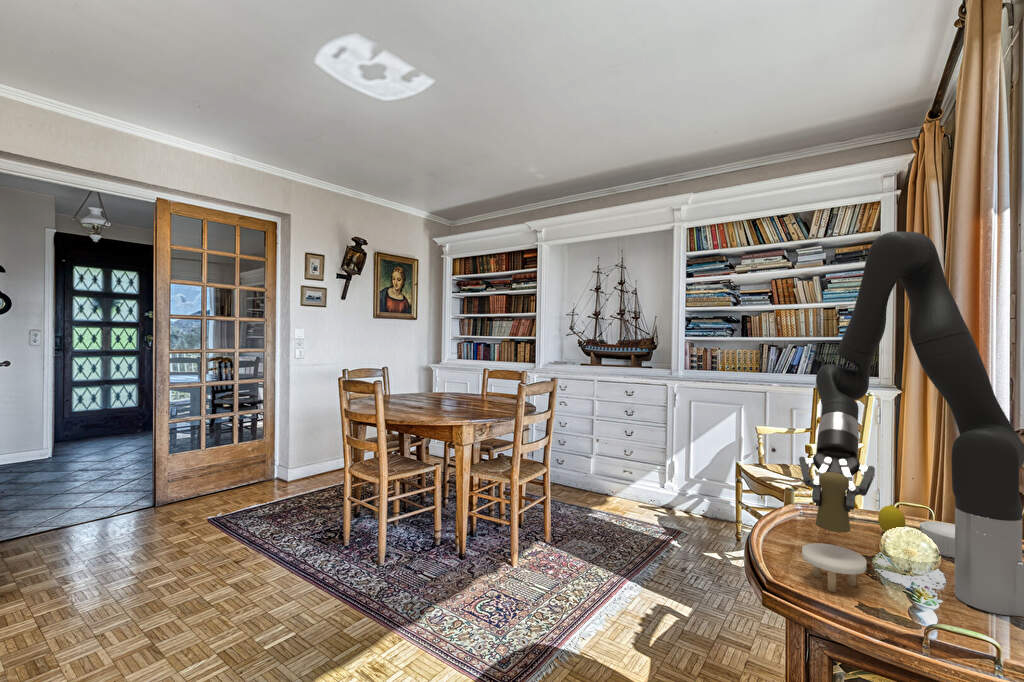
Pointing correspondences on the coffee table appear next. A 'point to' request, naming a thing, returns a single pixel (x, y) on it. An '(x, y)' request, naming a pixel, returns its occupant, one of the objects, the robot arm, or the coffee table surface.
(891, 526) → the lemon
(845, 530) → the cork
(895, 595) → the coffee table surface
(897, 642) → the coffee table surface
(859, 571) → the stool
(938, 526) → the ramekin
